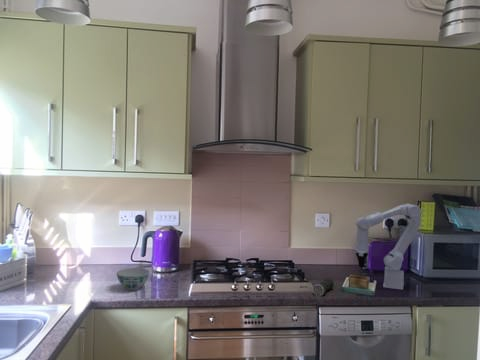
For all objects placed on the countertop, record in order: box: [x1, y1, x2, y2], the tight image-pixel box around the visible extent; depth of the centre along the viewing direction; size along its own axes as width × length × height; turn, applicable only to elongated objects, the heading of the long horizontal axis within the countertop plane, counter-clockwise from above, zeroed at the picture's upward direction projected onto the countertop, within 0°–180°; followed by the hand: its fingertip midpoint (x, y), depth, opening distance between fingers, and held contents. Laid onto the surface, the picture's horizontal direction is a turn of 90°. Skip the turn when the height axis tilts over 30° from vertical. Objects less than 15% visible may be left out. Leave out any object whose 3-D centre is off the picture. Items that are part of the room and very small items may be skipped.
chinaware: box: [116, 267, 150, 291], centre depth 184 cm, size 15×15×8 cm
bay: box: [341, 276, 377, 296], centre depth 196 cm, size 15×20×2 cm
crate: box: [348, 274, 370, 290], centre depth 192 cm, size 9×7×6 cm
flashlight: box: [312, 277, 335, 297], centre depth 188 cm, size 15×5×5 cm, turn 147°
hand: (361, 267), depth 200 cm, fingers closed
